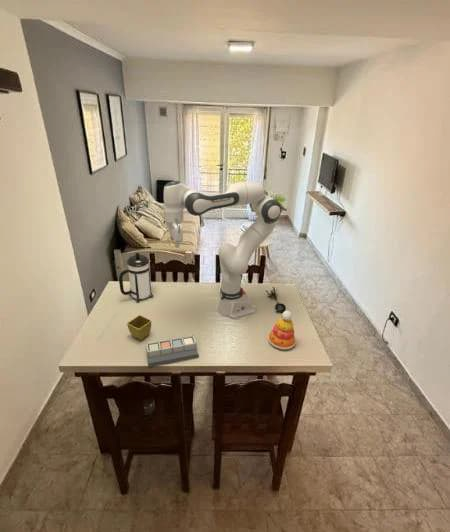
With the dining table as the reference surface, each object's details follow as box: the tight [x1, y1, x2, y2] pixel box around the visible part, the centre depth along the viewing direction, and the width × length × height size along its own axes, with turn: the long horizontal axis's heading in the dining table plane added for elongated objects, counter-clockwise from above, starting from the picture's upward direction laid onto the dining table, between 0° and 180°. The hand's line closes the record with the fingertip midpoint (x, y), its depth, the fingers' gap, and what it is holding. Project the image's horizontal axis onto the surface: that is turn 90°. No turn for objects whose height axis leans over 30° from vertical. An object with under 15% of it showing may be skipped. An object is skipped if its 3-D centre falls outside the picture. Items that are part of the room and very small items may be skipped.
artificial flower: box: [265, 286, 287, 314], centre depth 189 cm, size 9×22×10 cm, turn 2°
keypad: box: [145, 334, 199, 368], centre depth 146 cm, size 23×14×6 cm, turn 108°
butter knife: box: [95, 325, 110, 341], centre depth 163 cm, size 1×24×3 cm
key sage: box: [149, 344, 158, 351], centre depth 144 cm, size 4×4×4 cm
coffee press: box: [118, 252, 154, 304], centre depth 182 cm, size 17×16×30 cm
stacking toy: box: [267, 310, 297, 351], centre depth 153 cm, size 14×14×20 cm
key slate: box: [172, 340, 182, 346], centre depth 147 cm, size 4×4×4 cm
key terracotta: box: [161, 342, 170, 348], centre depth 145 cm, size 4×4×4 cm
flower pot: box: [126, 314, 152, 341], centre depth 155 cm, size 9×9×9 cm
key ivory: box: [184, 338, 193, 344], centre depth 148 cm, size 4×4×4 cm
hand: (174, 243), depth 150 cm, fingers open, 8 cm apart
